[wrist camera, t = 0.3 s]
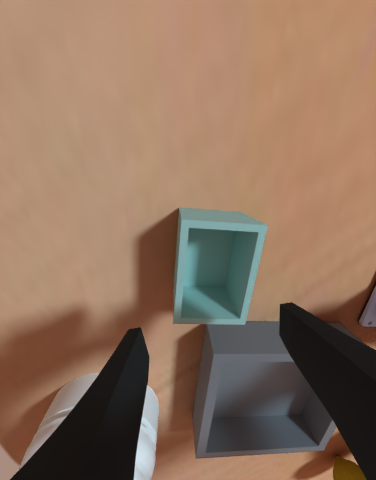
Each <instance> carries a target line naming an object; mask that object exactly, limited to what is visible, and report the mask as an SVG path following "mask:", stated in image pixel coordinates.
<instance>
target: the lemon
mask: <svg viewBox="0 0 376 480" xmlns="http://www.w3.org/2000/svg"><path fill="white" fill-rule="evenodd" d="M333 478H334V480H366V478H365V476H364V474H363V472H362V470H361V469H360V467H359V466H358V465H357V464H356V463H354V462H352V461H350V460H345V459H343V458H342V457H340V456H336V463H335V465H334V468H333Z"/></svg>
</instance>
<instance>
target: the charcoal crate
mask: <svg viewBox="0 0 376 480" xmlns="http://www.w3.org/2000/svg"><path fill="white" fill-rule="evenodd" d="M326 323H327V322H326ZM279 324H280V322H256V321H246V323H245V325H234V324H206V325H205V332H204V339H203V346H202V353H201V360H200V367H199V374H198V381H197V387H196V394H195V401H194V408H193V415H192V418H193V431H194V443H195V455H196V459H197V458H213V457H229V456H246V455H262V454H278V453H294V452H311V451H324V449H325V447H326V445H327V443H328V441H329V439H330V438H331V436H332V434H333V432H334V430H335V428H336V425H335V423H334V421H333V420H332V418H331V417H330V415H329V413H328V412H327V410H326V409H325V407H324V406H323V404H322V403H321V401H320V400H319V398H318V397H317V395H316V394H315V392H314V391H313V389H312V388H311V386H310V385H309V383H308V382H307V380H306V379H305V377H304V376H303V374H302V373H301V371H300V370H299V368H298V367H297V365H296V364H295V362H294V361H293V359H292V358H291V356H290V355H289V353H288V351H287V349H286V347H285V345H284V343H283V341H282V340H281V338H280V336H279ZM327 324H329V325H331V326H333V327H334V328H336V329H338V330H339V331H341V332H343V333H345V334H347V335H348V336H350V337H352V338H354V339H356V340H357V341H359V342H361V343H363V342H362V341H361V340H360V339H359V338H357V337H356V336H355V335H354V334H353V333H352V332H351V331H349V330H348V329H347V328H346V327H345V326H344V325H342V324H341V323H327ZM363 344H364V343H363ZM365 345H366V344H365Z"/></svg>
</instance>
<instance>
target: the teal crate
mask: <svg viewBox="0 0 376 480" xmlns="http://www.w3.org/2000/svg"><path fill="white" fill-rule="evenodd" d="M267 226H268V225H266V224H264V223H262V222H260V221H258V220H256V219H254V218H252V217H250V216H248V215H246V214H244V213H242V212H233V211H220V210H206V209H193V208H180V207H179V216H178V230H177V244H176V258H175V272H174V286H173V324H234V325H245V323H246V319H247V314H248V310H249V305H250V301H251V297H252V292H253V288H254V284H255V279H256V275H257V270H258V266H259V262H260V257H261V253H262V248H263V244H264V240H265V235H266V231H267Z"/></svg>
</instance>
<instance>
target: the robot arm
mask: <svg viewBox="0 0 376 480" xmlns="http://www.w3.org/2000/svg"><path fill="white" fill-rule="evenodd" d="M359 324H361V325H362V326H365V327H376V286H375V288H374V290H373V292H372V295H371V297H370V299H369V301H368V303H367V305H366V307H365V310H364V312H363V314H362V316H361V318H360V320H359ZM279 336H280V338H281V340H282V341H283V343H284V345H285V347H286V349H287V351H288V353H289V355H290V356H291V358H292V359H293V361H294V362H295V364H296V365H297V367H298V368H299V370H300V371H301V373H302V374H303V376H304V377H305V379H306V380H307V382H308V383H309V385H310V386H311V388H312V389H313V391H314V392H315V394H316V395H317V397H318V398H319V400H320V401H321V403H322V404H323V406H324V407H325V409H326V410H327V412H328V413H329V415H330V417H331V418H332V420H333V421H334V423H335V425H336V426H337V428H338V430H339V432H340V433H341V435H342V437H343V439H344V440H345V442H346V444H347V446H348V447H349V449H350V451H351V452H352V454H353V456H354V458H355V460H356V461H357V463H358V465H359V467H360V469H361V470H362V472H363V474H364V476H365V478H366V480H376V350H374V349H373V348H371V347H369V346H367V345H365V344H363V343H361V342H359V341H357V340H356V339H354V338H352V337H350V336H348V335H347V334H345V333H343V332H341V331H339V330H338V329H336V328H334V327H333V326H331V325H329V324H327V323H326V322H324V321H322V320H321V319H319V318H317V317H316V316H314V315H312V314H311V313H309V312H307V311H306V310H304V309H302V308H301V307H299V306H297V305H295V304H294V303H292V302H291V303H285V304H280V324H279ZM148 372H149V354H148V351H147V347H146V344H145V340H144V336H143V333H142V329H141V328H135V329H129V330H128V331H127V333H126V334H125V336H124V337H123V339H122V341H121V342H120V344H119V345H118V347H117V348H116V350H115V351H114V353H113V354H112V356H111V357H110V359H109V360H108V362H107V363H106V365H105V366H104V368H103V369H102V370H101V372H100V373H99V375H98V376H97V378H96V379H95V380H94V382H93V383H92V384H91V386H90V387H89V388H88V390H87V391H86V392H85V394H84V395H83V396H82V398H81V399H80V400H79V402H78V403H77V404H76V405H75V407H74V408H73V409H72V410H71V412H70V413H69V414H68V415H67V417H66V418H65V419H64V420H63V421H62V423H61V424H60V425H59V426H58V427H57V429H56V430H55V431H54V432H53V433H52V434H51V435H50V437H49V438H48V439H47V440H46V441H45V442H44V443H43V444H42V446H41V447H40V448H39V449H38V450H37V451H36V452H35V453H34V454H33V456H32V457H31V458H30V459H29V460H28V461H27V462H26V463H25V464H24V465H23V467H22V468H21V469H20V470H19V471H18V472H17V473H16V474H15V475H14V476H13V477H12V478H11V479H10V480H134V471H135V461H136V452H137V445H138V438H139V432H140V426H141V420H142V414H143V408H144V402H145V396H146V389H147V383H148Z"/></svg>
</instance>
